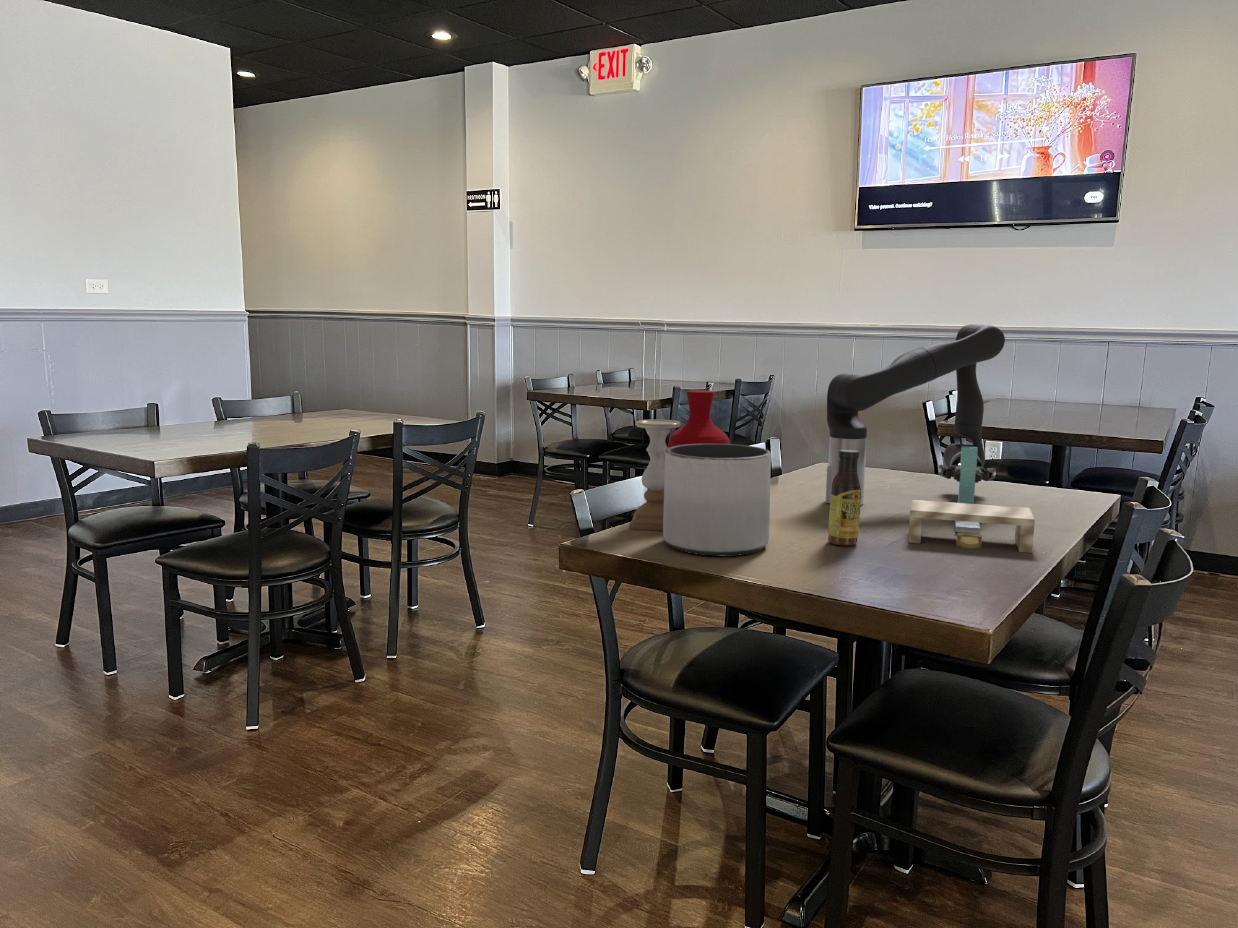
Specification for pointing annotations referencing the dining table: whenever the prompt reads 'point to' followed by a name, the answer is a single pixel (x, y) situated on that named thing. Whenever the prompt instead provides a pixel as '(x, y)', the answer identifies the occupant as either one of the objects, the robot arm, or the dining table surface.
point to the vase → (699, 422)
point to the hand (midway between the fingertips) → (968, 477)
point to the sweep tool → (967, 486)
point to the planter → (717, 498)
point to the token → (969, 540)
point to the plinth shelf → (974, 518)
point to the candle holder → (654, 475)
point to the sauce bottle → (845, 501)
